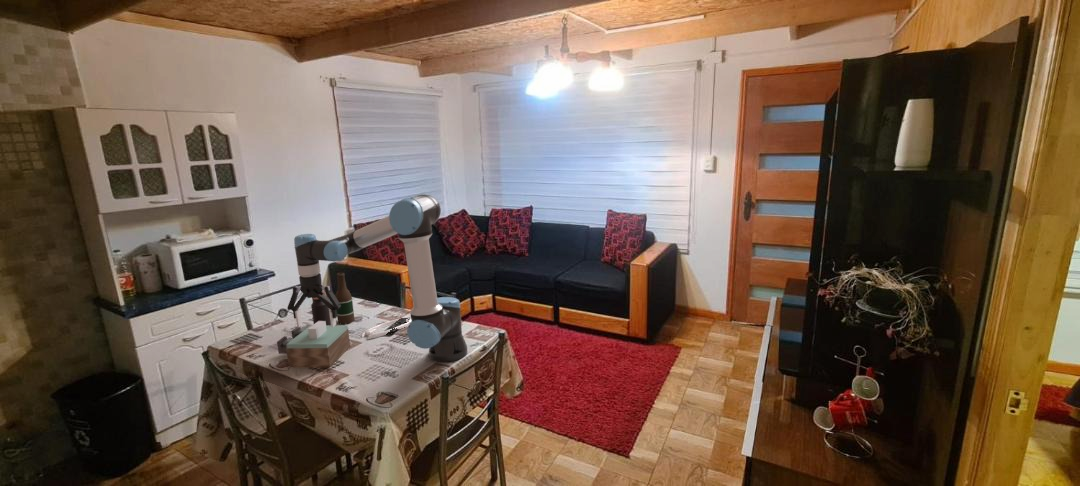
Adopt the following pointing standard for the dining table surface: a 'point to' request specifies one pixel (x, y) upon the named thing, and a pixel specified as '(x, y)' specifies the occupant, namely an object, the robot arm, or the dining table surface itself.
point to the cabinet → (314, 352)
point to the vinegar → (320, 311)
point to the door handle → (375, 335)
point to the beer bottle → (344, 301)
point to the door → (316, 336)
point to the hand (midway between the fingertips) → (316, 325)
